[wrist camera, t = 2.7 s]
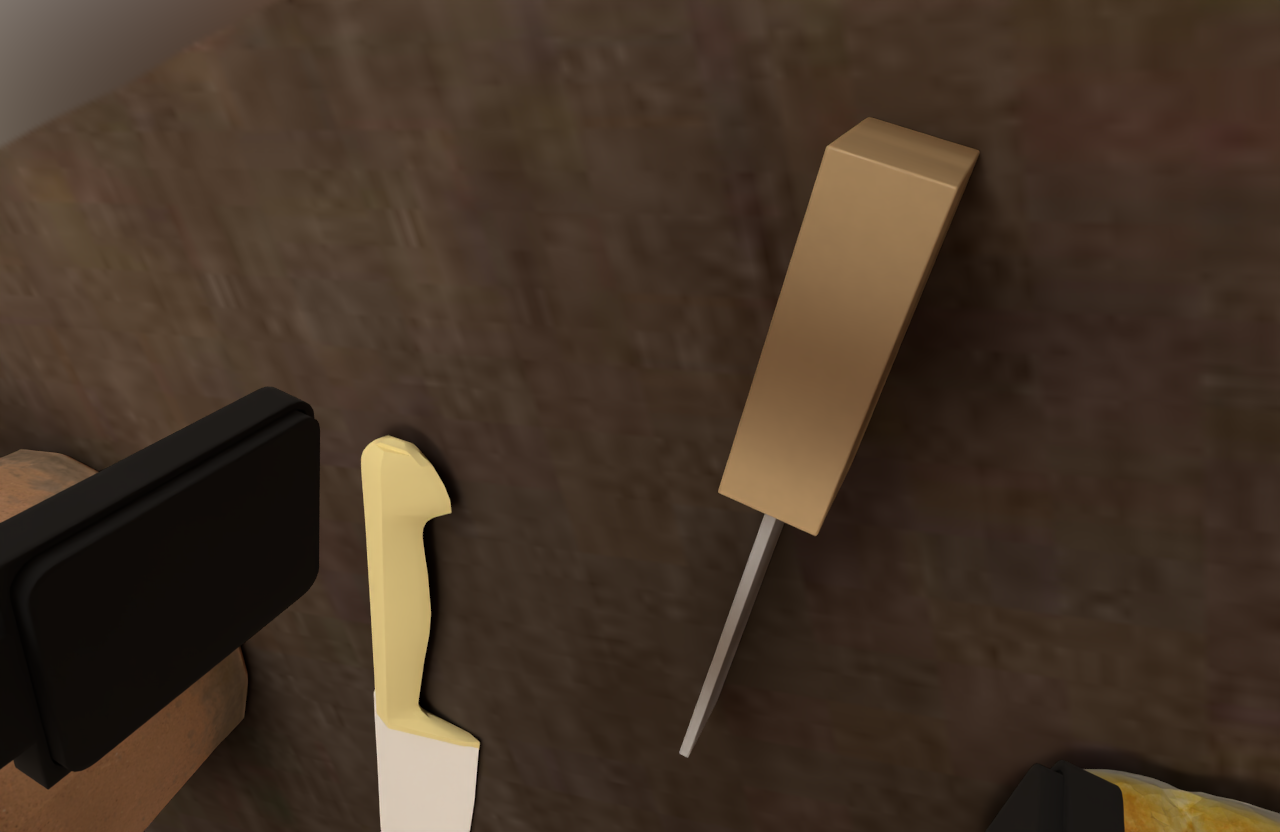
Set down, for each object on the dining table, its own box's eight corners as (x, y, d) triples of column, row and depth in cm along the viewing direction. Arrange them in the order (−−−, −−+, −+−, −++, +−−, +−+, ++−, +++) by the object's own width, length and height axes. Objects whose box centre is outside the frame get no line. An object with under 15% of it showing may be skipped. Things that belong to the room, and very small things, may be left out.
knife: (467, 980, 46) (383, 946, 46) (509, 460, 27) (370, 417, 28) (455, 1006, 45) (370, 970, 45) (492, 482, 26) (348, 438, 27)
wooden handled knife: (867, 115, 18) (826, 145, 16) (981, 150, 18) (958, 187, 15) (679, 680, 28) (632, 761, 25) (747, 715, 27) (708, 803, 25)
